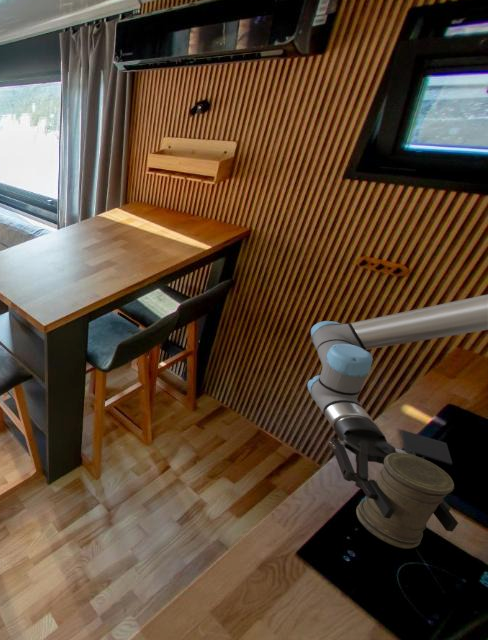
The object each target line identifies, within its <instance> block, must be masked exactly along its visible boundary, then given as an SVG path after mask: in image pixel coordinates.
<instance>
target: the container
mask: <svg viewBox="0 0 488 640" xmlns="http://www.w3.org/2000/svg"><path fill="white" fill-rule="evenodd" d="M375 481H376V483H377V484H378V486H379V488H380V489H381V490H382V492H383V493H384V495H385V496H386V498H387V499H388V501H389V502H390V504H391V505H392V507H393V508H394V510H395V511H394V513H393V514H392V516H391V518H390V519H389V518H384V516H383V514H382V513H381V511H380V510H379V508H378V506H377V505H376V503H375V502H374V500H373V499H371V498H368V497H367V496H366V495H365V498H364V499H362V500H361V501H360V503H359V504H358V505H357V506H356V509H355V512H356V517H357V519H358V521H359V522H360V524H361V525H362V526H363V527H364V528H365V529H366V530H367V531H368V532H369V533H371V534H372V535H373V536H375V537H376V538H377V539H379V540H381V541H383V542H385V543H387V544H388V545H391V546H393V547H396V548H399V549H405V550H406V549H408V550H409V549H414V548H416V547H418V546H420V545H421V542H422V539H423V537H424V530H426V528H427V523H428V521H429V520H430V518H431V517H432V516H433V515H434V513H433V512H434V511H435V510H436V508H437V507H438V505H439V504H440V503H441V502H442V501H443V499H444V498H443V496H445V497H447V495H448V494H450V493H452V492H453V491H454V489H455V483H454V480H453V479H452V477H451V476H450V475H449V474H448V472H446V471H445V470H443V469H442V468H441V467H439V466H438V465H437V464H435V463H433V462H431V461H429V460H427V459H425V458H423V457H420V456H417V455H416V456H414V455H410V454H405V453H392V454H389V455H387V456H386V457H385V459H384V465H383V468H381V469H380V470H379V475H378V477H377V478H376V480H375Z"/></svg>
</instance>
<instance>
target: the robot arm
mask: <svg viewBox="0 0 488 640" xmlns="http://www.w3.org/2000/svg"><path fill="white" fill-rule="evenodd" d="M482 331H488V293H487V294H483V295H478V296H474V297H469V298H464V299H460V300H453V301H450V302H444V303H440V304H435V305H431V306H426V307H421V308H420V307H419V308H416V309H411V310H406V311H402V312H396V313H391V314H387V315H383V316H378V317H373V318H368V319H364V320H359V321H354V322H350V323H344V324H342V323H340V322H338V321H332V320H331V321H330V320H324V321H319V322H317V323H316V324H314V325H313V326H312V327H311V329H310V335H311V342H312V344H313V345H314V347H315V350H316V352H317V355H318V358H319V360H320V363H321V365H322V368H321V372H320V374H318V375H315V376H313V377H312V378H311V379H309V380H308V382H307V389H308V391H309V394H310V395H311V398H312V400H313V401H314V402H315V403H316V405H317V406H318V408H319V409H320V411H321V413H322V414H323V415H324V417H325V418H326V419H327V422H329V425H330V426H331V428H332V429H333V430H334V432H335V434H336V436H337V437H338V438H336V437H331V438H330V440H329V442H328V445H327V446H328V448H329V449H330V450H331V451H332V452H333V453H334V456H335V459H336V462H337V465H338V467H339V470H340V473H341V475H342V478H343V479H344V480H345V481H347V482H354V483H355V487H357V488H359V489H362V491H363V493H364V494H365V497H366V496H367V497H368V498H371V499H373V500H374V502H375V503H376V505H377V506H378V508H379V510H380V511H381V513H382V514H383V516H384V518H389V519H390V518H391V516H392V514H393V513H394V511H395V510H394V508H393V507H392V505H391V504H390V502H389V501H388V499H387V498H386V496H385V495H384V493H383V492H382V490H381V489H380V488H379V486H378V484H377V483H376V480H375V479H369V463H378V464H382V465H383V466H384V459H385V457H386V456H387V455H389V454H392V453H405V454H410V455H414V456H417V454H415V452H414V451H413V450H411V449H406V450H404V449H398V448H396V447H394V446H393V445H391V444H390V443H389V442H388V441H387V438H386V436H385V435H384V432H382V431H381V429H380V428H379V427H378V425H377V424H376V423H375V421H374V420H373V418H372V417H371V416H370V415H369V413H368V412H367V411H366V410H365V408H364V407H363V406H362V405H361V404H360V402H359V401H358V398H359V395H360V394H361V391H362V388H363V386H364V384H365V381H366V379H367V377H368V375H369V373H370V372H371V370H372V365H373V360H374V358H373V355H372V354H371V352H369V351H367V350H375V349H379V348H385V347H386V348H387V347H391V346H397V345H404V344H410V343H417V342H422V341H427V340H435V339H441V338H446V337H452V336H459V335H464V334H469V333H470V334H471V333H477V332H482ZM347 450H348V451H349V452H351V454H354V455H355V465H356V466H355V467H356V468H355V470H354V467H353V465H352V462H351V459H350V457H349V455H348V452H347ZM355 471H356V472H355ZM445 498H446V496H443V501H442V502H441V503H440V504H439V505H438V507H437V508H436V510H435V511H434V512H433V515H434V517H436V519H437V520H438V522H439V523H440V524H441V525H442V527H443V528H444V530H445V531H446V532H453V531H454V530H455V529H456V527H457V526H458V525H459V522H458V521H457V519H456V518H455V517H454V516H453V514H452V513H451V512H450V510H451V506H450V505H449V504H448V502H446V500H445Z"/></svg>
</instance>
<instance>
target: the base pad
mask: <svg viewBox="0 0 488 640" xmlns="http://www.w3.org/2000/svg"><path fill="white" fill-rule="evenodd" d="M400 432H401V440H402V444H403V445H402V446H403V451H405V450H406V449H411V450H413V451H414V452H415V454H416V455H418V456H422V457H424V458H428V459H430V460H434V461H437V462H440V463H443V464H446V465H450V466H452V465H453V460H452V457H451V454H450V450H449V447H448V444H447V442H444V441H441V440H438V439H435V438H431V437H427V436H424V435H421V434H418V433H415V432H414V433H413V432H410V431H407V430H403V429H401V430H400Z"/></svg>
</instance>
